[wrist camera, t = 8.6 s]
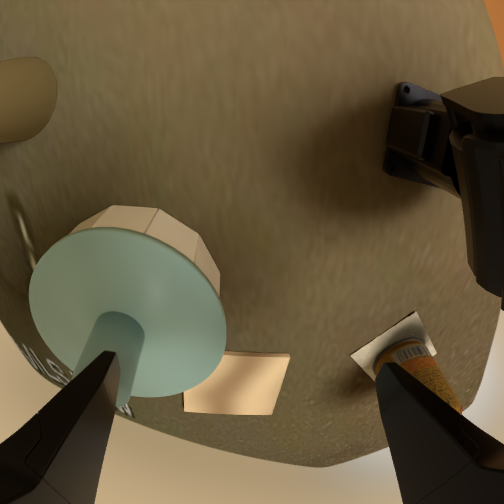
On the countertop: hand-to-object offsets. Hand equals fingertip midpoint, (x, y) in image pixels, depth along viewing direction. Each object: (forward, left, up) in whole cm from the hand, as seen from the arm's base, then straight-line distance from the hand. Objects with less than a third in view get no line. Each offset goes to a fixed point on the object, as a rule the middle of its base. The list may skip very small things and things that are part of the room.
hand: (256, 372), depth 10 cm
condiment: (-17, +12, -13) cm, 24 cm away
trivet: (-1, +16, -12) cm, 20 cm away
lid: (+7, +5, -8) cm, 12 cm away
